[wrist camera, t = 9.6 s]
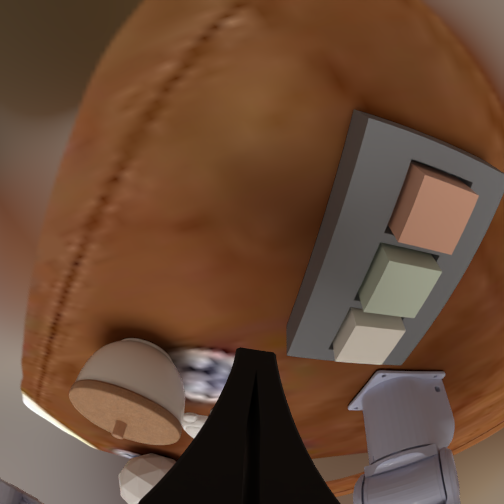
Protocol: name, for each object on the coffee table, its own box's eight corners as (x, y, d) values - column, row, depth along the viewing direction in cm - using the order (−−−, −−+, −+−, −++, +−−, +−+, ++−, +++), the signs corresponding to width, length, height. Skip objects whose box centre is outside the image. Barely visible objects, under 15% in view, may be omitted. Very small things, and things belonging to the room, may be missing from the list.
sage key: (426, 247, 18) (442, 271, 15) (403, 292, 20) (414, 318, 18) (377, 235, 17) (389, 260, 15) (355, 284, 20) (363, 311, 17)
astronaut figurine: (276, 429, 37) (275, 448, 34) (200, 434, 40) (197, 451, 38) (252, 401, 33) (250, 424, 30) (168, 408, 36) (163, 427, 33)
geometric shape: (178, 435, 53) (214, 492, 41) (167, 470, 56) (196, 520, 44) (110, 441, 44) (138, 509, 33) (109, 477, 47) (133, 533, 36)
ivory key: (396, 304, 20) (405, 330, 18) (375, 338, 22) (381, 364, 20) (349, 297, 20) (356, 325, 18) (331, 334, 22) (335, 361, 20)
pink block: (456, 177, 15) (479, 195, 13) (434, 231, 17) (451, 255, 15) (405, 158, 15) (424, 174, 12) (383, 218, 17) (397, 242, 15)
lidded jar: (196, 334, 26) (172, 431, 18) (195, 393, 32) (179, 467, 24) (87, 309, 26) (44, 389, 18) (108, 372, 32) (82, 438, 24)
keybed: (484, 160, 15) (509, 177, 13) (393, 338, 25) (400, 365, 22) (353, 109, 15) (369, 117, 13) (286, 326, 25) (286, 355, 22)
